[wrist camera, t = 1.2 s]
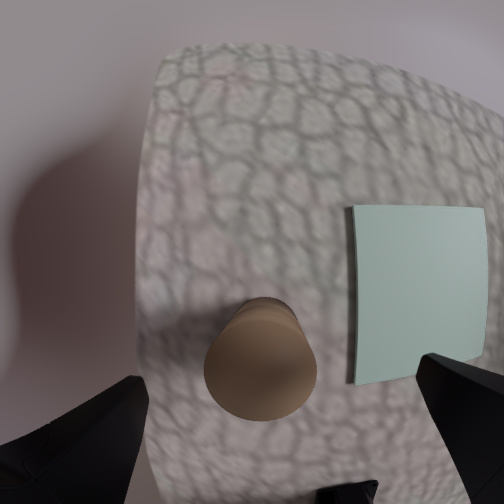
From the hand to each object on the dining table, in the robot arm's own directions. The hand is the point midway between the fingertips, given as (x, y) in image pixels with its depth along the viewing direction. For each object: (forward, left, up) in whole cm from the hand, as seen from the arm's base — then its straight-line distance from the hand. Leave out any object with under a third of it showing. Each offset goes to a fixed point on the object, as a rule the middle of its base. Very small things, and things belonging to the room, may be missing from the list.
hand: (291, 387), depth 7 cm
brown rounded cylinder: (-1, +1, -13) cm, 13 cm away
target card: (+1, -13, -13) cm, 18 cm away
